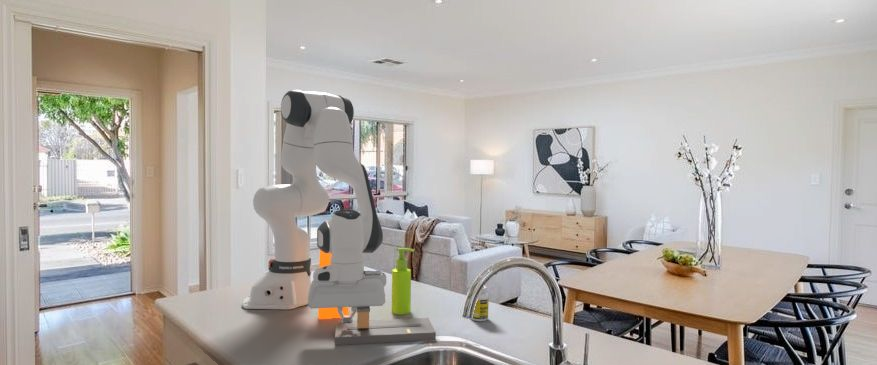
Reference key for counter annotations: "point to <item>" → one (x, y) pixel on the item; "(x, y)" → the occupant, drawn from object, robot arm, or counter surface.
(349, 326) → the board
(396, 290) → the soap dispenser
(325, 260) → the orange juice
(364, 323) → the fader tab
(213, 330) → the counter surface
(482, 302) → the supplement bottle
